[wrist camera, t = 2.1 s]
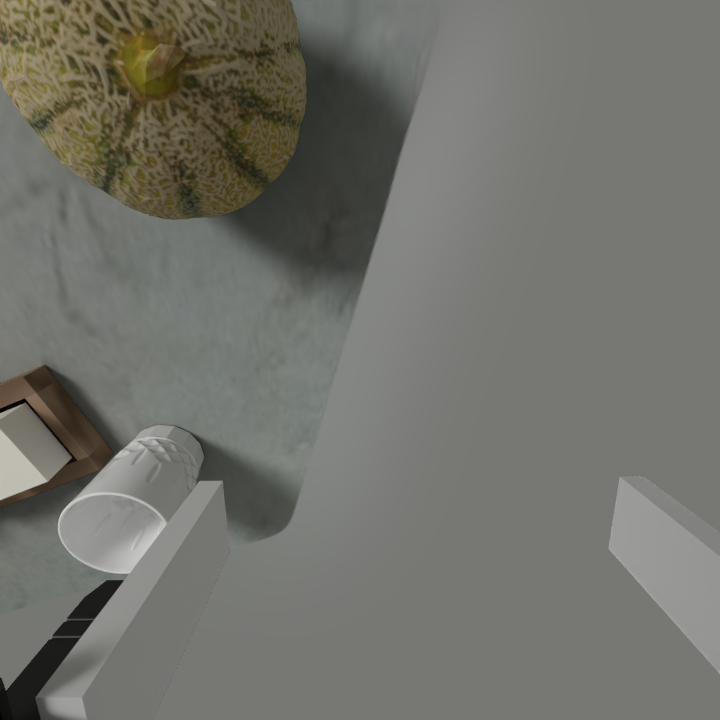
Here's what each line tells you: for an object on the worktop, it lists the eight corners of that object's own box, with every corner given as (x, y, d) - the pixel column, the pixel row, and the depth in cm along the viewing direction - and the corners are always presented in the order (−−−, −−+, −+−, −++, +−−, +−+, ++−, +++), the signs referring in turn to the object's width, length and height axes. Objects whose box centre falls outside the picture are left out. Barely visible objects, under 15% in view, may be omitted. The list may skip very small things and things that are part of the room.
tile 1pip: (-36, 427, 32) (-75, 451, 29) (25, 402, 32) (-8, 424, 29) (14, 480, 35) (-18, 507, 32) (72, 457, 34) (46, 483, 31)
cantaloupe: (89, -66, 23) (-263, -456, 10) (328, 1, 25) (325, -239, 12) (101, 194, 29) (-114, 187, 15) (298, 233, 31) (271, 258, 17)
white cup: (186, 407, 36) (136, 479, 27) (224, 472, 39) (191, 556, 30) (109, 433, 36) (33, 512, 27) (152, 495, 39) (97, 585, 30)
